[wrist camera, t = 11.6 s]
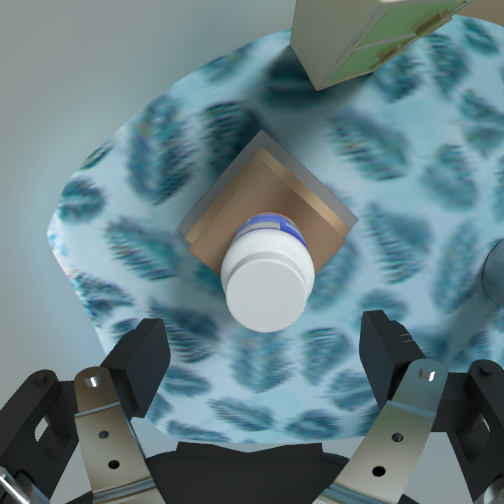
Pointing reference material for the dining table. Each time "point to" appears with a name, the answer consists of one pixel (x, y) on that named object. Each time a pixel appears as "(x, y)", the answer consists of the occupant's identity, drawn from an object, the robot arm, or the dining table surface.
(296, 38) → the tall beige block
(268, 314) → the pill bottle
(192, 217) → the base plate
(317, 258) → the brown block
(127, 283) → the dining table surface
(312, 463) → the robot arm
